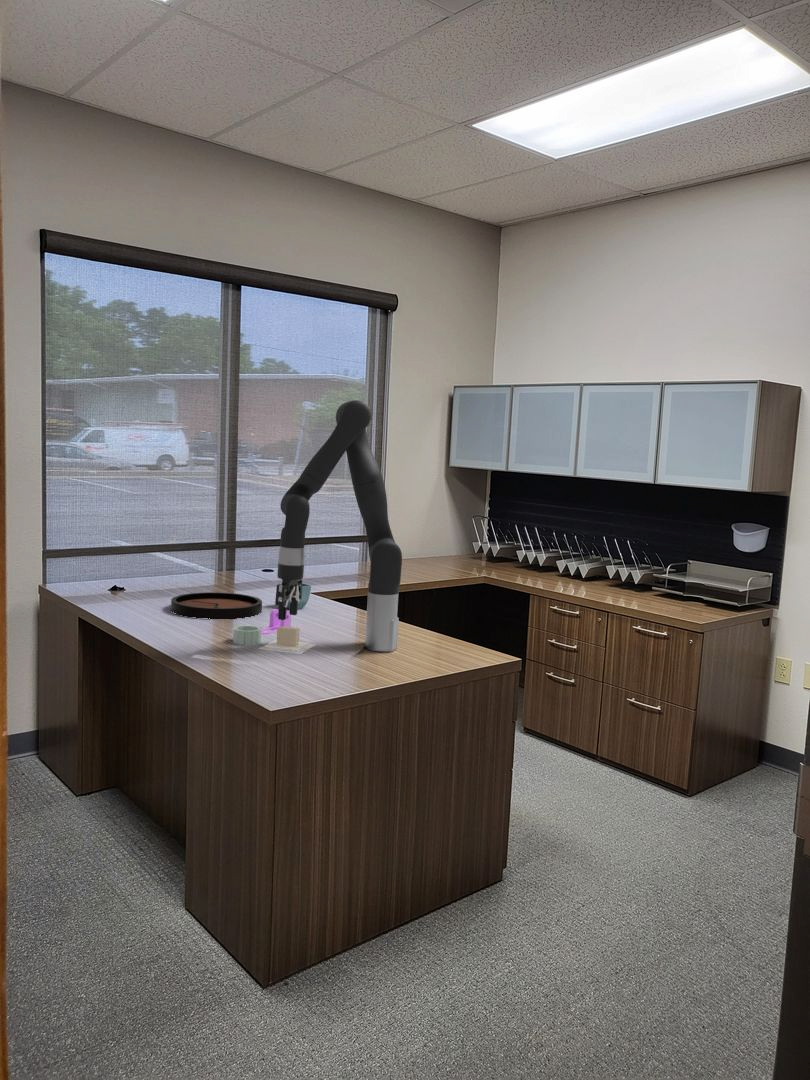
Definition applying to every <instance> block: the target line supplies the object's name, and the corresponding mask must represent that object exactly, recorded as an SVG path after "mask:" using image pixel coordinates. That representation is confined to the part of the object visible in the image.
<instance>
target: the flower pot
mask: <svg viewBox="0 0 810 1080" xmlns="http://www.w3.org/2000/svg"><path fill="white" fill-rule="evenodd" d="M278 585H282V582H281V583H278ZM311 590H312V585H311V584H306V583H303V582H302V599H299V602H298V610H301V609H300V608H303V609H304V608H305V606H306V605H307V604H308V601H309V599H310V595H311ZM290 602H291V601H288V604H287V609H289V610H290Z"/></svg>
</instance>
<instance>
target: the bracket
mask: <svg viewBox="0 0 810 1080" xmlns="http://www.w3.org/2000/svg"><path fill="white" fill-rule="evenodd" d="M278 610H279V608H278V609H277V608H273V609H271V610H270V614H269V625H268V626H267V627H264V628H261V635H270V634H274V633H277V627H279V626H285V627H291V622H292V620H291V619H292V615H290V610H289V611H288V610H287V612H286V619H285V620H279V619H278Z"/></svg>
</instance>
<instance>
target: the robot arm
mask: <svg viewBox="0 0 810 1080" xmlns="http://www.w3.org/2000/svg"><path fill="white" fill-rule="evenodd" d="M371 420H372V410H371V408H370V406H369V405H368V404H367V403H366V402H364V401H363V400H358V399H356V400H355V399H353V400H349V401H346V402H344V403H342V404H341V405H339V407H338V408H337V410H336V413H335V422H336V425H335V428H334V429H333V431H332V433H331V434H330V436H329V437H328V439H327V440H326V441H325V443H324V444H323V445H322V446H321V447H320V448H319V450H318V451H317V452H316V453H315V454H314V455H313V456H312V458H311V459H310V461H309V462H308V463H307V464H306V467H305V468H304V469H303V471H302V473H301V474H300V475H299V478H298V479H297V480H296V481H295V482H294V483H293V484H292V485H291V486H290V488H289V489H288V490H287V491H286V492H285V494H284V495H283V497H282V498H281V500H280V510H281V512H282V513H283V514H284V515H285V521H284V527H282V529H281V533H280V541H279V542H280V543H279V550H278V561H277V573H276V575H277V578H278V579H279V580H280V579H281V583H282V585H279V584H277V585H276V592H275V599H274V600H275V603H274V605H275V606H277V607H278V619H279V620H285V619H286V612H287V611H288V608H287V604H288V601H291V602H290V609H289V612H290V615H291V616H296V615H298V610H299V609H298V602H299V599H302V583H303V578H304V574H305V573H304V571H305V558H306V556H305V555H306V554H305V541H306V530H307V527H308V524H309V523H308V522H309V519H310V518H309V517H310V511H311V507H310V502H309V501H310V499H311V498H312V497H313V495H315V494H317V493H319V492H320V491H321V489H322V488H323V486H324V484H325V483H326V482H327V480H328V478H329V477H330V476H331V474H332V472H333V471H334V470H335V468H336V466H337V464H338V463H339V461H340V460H341V458H342V457H343V456H344V454H345V453H346V457H347V463H348V468H349V474H350V477H351V483H352V487H353V492H354V496H355V500H356V504H357V506H358V509H359V513H360V515H361V518H362V521H363V524H364V527H365V533H366V540H367V547H368V557H369V560H370V572H369V573H370V574H369V580H368V586H367V602H366V603H367V606H366V621H365V623H366V625H365V638H364V639H365V640H364V645H365V646H364V648H365V649H366V650H370V651H372V652H373V651H375V652H394V651H395V650H396V649H397V648H398V636H399V623H400V622H399V619H400V617H398V609H399V608H398V606H399V591H400V585H401V578H402V577H401V576H402V565H403V554H402V549H401V548H400V546H399V545H398V544H397V543H396V541H395V538H394V536H393V533H392V529H391V526H390V521H389V515H388V514H389V513H388V512H389V511H388V498H387V491H386V485H385V482H384V478H383V474H382V471H381V468H380V466H379V464H378V462H377V460H376V457H375V456H374V454H373V451H372V450H371V447H370V445H369V444H370V443H369V440H368V434H367V428H368V426H369V425H370V423H371Z"/></svg>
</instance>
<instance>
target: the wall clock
mask: <svg viewBox="0 0 810 1080" xmlns="http://www.w3.org/2000/svg"><path fill="white" fill-rule="evenodd" d="M170 600H171V601H170V612H171V611H172V612H171V613H173V612H174V613H176V614H175V615H177V614H178V615H177V616H180V615H182V616H181V617H184V616H187V617H186V618H189V617H196V618H195V619H197V618H208V619H207V620H210V619H229V620H238V619H237V618H242V619H246V618H245V617H249V618H252V617H251V616H254V617H256V616H255V615H257V616H259V615H260V614H259V613H262V611H263V600H262V599H260V598H258V597H255V596H252V595H248V594H242V593H233V592H219V591H218V592H215V591H214V592H213V591H211V592H207V591H206V592H191V593H185V594H179V595H176V596H173V597H172V598H171V599H170ZM174 613H173V614H174ZM258 614H259V615H258ZM209 618H210V619H209Z"/></svg>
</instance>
